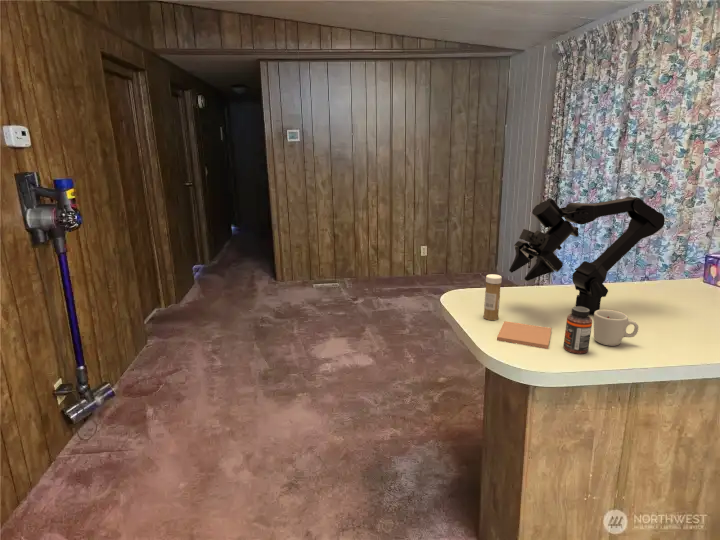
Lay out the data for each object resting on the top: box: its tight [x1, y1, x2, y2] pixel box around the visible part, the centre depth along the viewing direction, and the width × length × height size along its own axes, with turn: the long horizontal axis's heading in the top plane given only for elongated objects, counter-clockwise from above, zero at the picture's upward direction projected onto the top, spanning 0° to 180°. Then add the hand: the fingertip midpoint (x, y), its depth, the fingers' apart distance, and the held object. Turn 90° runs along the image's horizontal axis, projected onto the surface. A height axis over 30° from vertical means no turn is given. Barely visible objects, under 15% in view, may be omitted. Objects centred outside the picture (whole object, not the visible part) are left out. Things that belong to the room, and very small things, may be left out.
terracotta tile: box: [496, 320, 552, 350], centre depth 132 cm, size 13×13×1 cm
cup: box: [593, 309, 639, 347], centre depth 127 cm, size 11×8×8 cm
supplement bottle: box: [563, 306, 593, 355], centre depth 122 cm, size 6×6×11 cm
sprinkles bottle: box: [482, 273, 503, 321], centre depth 144 cm, size 5×5×14 cm
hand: (517, 275), depth 143 cm, fingers open, 9 cm apart
